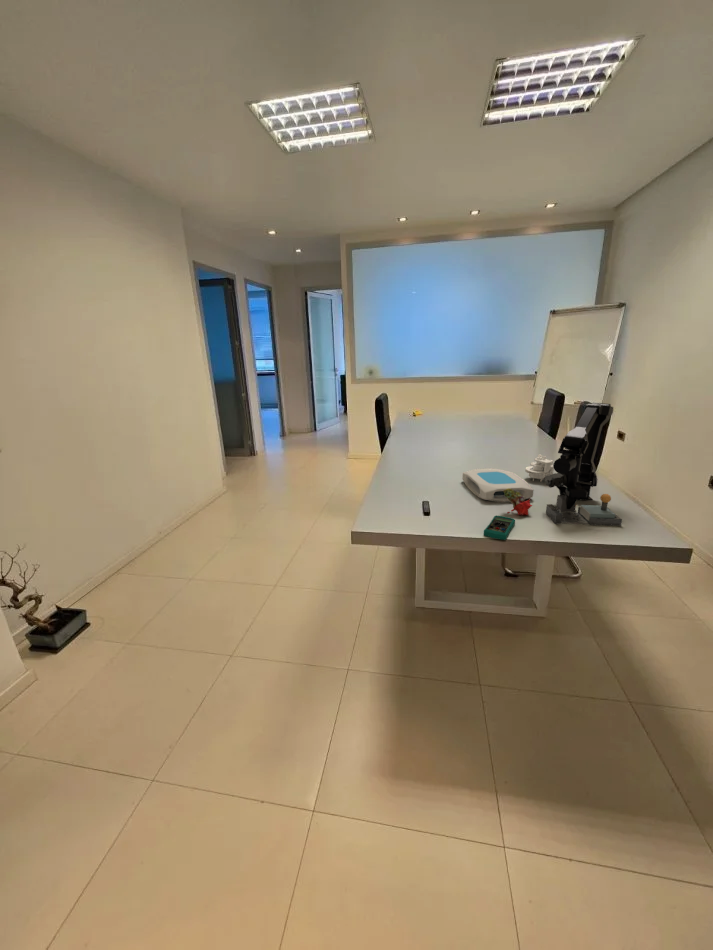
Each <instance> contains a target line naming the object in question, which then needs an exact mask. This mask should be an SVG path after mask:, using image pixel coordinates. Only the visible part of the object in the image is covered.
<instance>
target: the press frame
mask: <svg viewBox="0 0 713 950" xmlns="http://www.w3.org/2000/svg"><path fill="white" fill-rule="evenodd" d="M545 507H546V508H545V514H546V515H547V516H548V517H549V518H550V520H551V521H552V522H553V524H555V525H562V524H564V525H565V524H566V525H567V524H568V525H569V524H571V525H572V524H573V525H589V526H609V527H610V526H616V527H617V526H618V527H621V526H622V524H623V523H622V522H623V518H621V517H620V516H619V515H617V514H616V513H615V512H614V511H612V510H611V509H610V508H609V507H607V508H608V509H609V510H610V511H612V512H613V513H614V514H615V518H590V520H589V521H588V520H587V519H586V518H585V517H584V516H583V515H581V514H580V513H579V512H580V506H578V509H577V512H561V511H560V510H559V509H558V508H557V507H556V506H554V504H551V503H550V504H549V503H548V504H546V506H545Z"/></svg>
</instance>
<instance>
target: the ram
mask: <svg viewBox="0 0 713 950" xmlns="http://www.w3.org/2000/svg"><path fill="white" fill-rule="evenodd" d="M599 499H600V501H601V505H593V504H592V505H589V504H587V505H586V504H581V505H580V506H579V507H580V512H579V513H580V514H581V515H583V516H584V517H585V518H586V519H587V520H588V521H589V520H590V518H615V514H616V513H615V512H614V511H612V510H611V509H610V508H609V507H608V506H609V505H608V504H609V503H610V502H611V500H612V497H611V495H609V493H603V494H601V495H600V498H599ZM608 508H609V509H610V510H611V511H610V510H609V509H608ZM613 512H614V513H615V514H614V513H613Z"/></svg>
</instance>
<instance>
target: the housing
mask: <svg viewBox="0 0 713 950" xmlns="http://www.w3.org/2000/svg"><path fill="white" fill-rule="evenodd" d="M576 506H577V501H576V502H575V503H574V505H573V506H572V507H571V508H570V509H567V502H566V495H560V494H557V497H556V504H555V508H556V509H557V510H558V511H559V512H565V513H576V512H575V511H576Z"/></svg>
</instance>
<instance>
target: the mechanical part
mask: <svg viewBox="0 0 713 950" xmlns="http://www.w3.org/2000/svg"><path fill="white" fill-rule="evenodd" d="M529 464H530V465H529V466H526V467H525V472H526V473H527V474H528V477H529V479H530V480H531V479H532V482H534V481H535V479H538V480H539V479H540V481H539V482H541V483H542V481H544V479H545V476H548V475H551V474H554V471H555V470H554V467H553V464H554V460H552V459H547V456H546V455H542V454H538V455H537V456H536V457H535V458H534V461H532V462H530V463H529Z"/></svg>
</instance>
